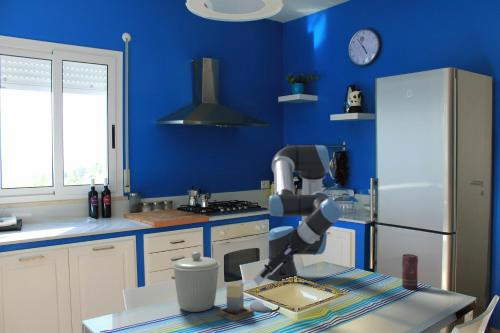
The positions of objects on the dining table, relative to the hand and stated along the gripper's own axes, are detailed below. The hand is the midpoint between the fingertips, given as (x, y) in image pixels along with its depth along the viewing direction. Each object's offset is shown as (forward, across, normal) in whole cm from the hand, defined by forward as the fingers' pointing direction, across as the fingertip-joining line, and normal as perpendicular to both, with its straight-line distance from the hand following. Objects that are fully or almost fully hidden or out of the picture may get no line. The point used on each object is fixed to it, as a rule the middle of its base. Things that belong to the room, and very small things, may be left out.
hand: (262, 277), depth 153 cm
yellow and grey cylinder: (+18, 0, -3) cm, 18 cm away
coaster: (+12, +11, -8) cm, 18 cm away
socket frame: (+18, 0, -3) cm, 18 cm away
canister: (+29, +2, +9) cm, 31 cm away
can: (-24, +54, -44) cm, 74 cm away
